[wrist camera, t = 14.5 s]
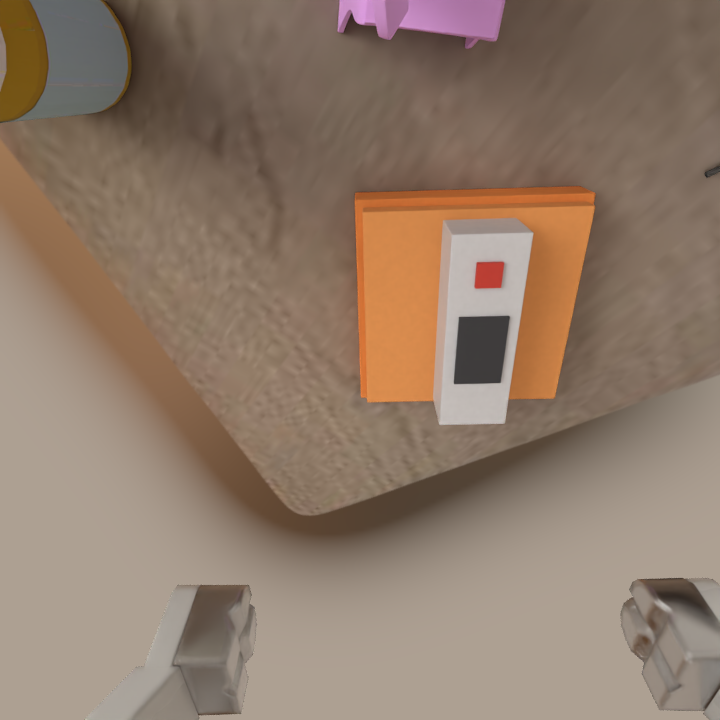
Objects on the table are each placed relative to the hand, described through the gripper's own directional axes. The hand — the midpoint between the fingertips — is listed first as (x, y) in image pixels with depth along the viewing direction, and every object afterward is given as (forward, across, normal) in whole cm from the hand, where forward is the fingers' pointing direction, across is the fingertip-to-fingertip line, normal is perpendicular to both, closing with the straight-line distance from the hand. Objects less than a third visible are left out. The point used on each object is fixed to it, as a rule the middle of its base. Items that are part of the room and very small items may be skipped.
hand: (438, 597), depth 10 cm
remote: (+25, -6, +5) cm, 26 cm away
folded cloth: (+29, -6, +5) cm, 30 cm away
